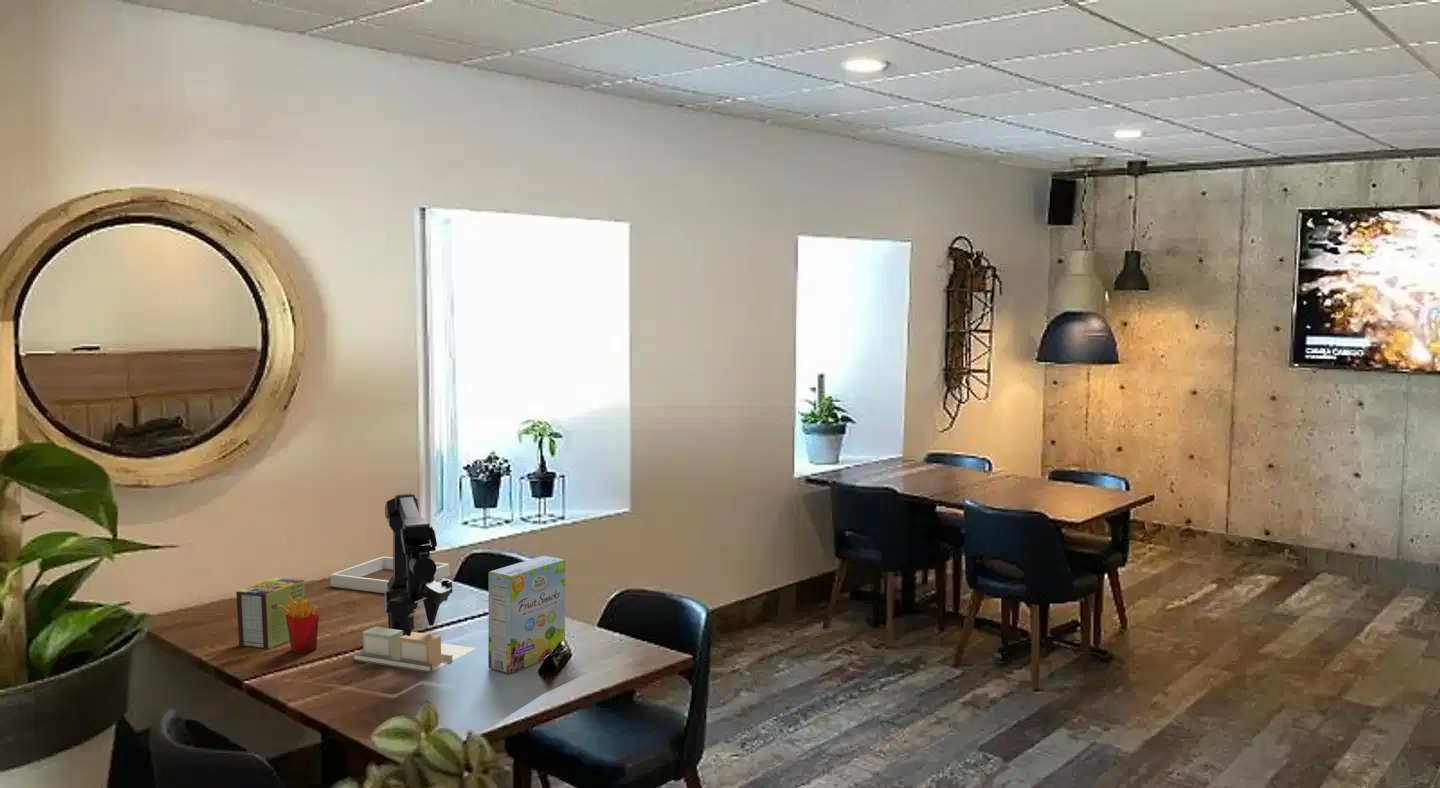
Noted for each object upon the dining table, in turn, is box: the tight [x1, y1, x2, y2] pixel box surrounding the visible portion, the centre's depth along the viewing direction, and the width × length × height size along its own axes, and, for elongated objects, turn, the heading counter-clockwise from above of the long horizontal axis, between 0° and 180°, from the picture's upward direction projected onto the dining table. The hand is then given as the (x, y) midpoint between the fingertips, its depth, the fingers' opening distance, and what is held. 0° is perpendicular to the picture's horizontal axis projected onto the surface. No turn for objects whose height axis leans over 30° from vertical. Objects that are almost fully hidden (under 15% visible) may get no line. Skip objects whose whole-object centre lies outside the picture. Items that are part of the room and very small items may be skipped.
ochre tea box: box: [400, 631, 442, 667], centre depth 283 cm, size 9×5×7 cm, turn 67°
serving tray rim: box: [329, 556, 450, 594], centre depth 367 cm, size 28×26×4 cm
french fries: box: [278, 596, 320, 655], centre depth 295 cm, size 9×8×15 cm
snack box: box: [487, 555, 566, 675], centre depth 286 cm, size 22×9×26 cm, turn 148°
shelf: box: [353, 642, 477, 673], centre depth 291 cm, size 24×20×3 cm
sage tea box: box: [362, 626, 404, 659], centre depth 288 cm, size 9×5×7 cm, turn 67°
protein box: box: [235, 576, 306, 650], centre depth 305 cm, size 10×15×16 cm
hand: (420, 630), depth 283 cm, fingers open, 9 cm apart
